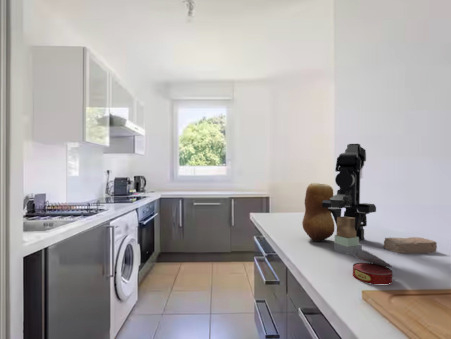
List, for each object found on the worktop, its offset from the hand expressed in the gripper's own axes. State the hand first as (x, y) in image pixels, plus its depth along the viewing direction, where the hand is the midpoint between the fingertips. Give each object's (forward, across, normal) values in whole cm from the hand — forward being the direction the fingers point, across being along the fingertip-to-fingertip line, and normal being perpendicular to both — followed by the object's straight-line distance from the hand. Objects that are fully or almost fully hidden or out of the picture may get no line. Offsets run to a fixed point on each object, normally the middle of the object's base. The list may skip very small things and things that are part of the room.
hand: (347, 228), depth 106 cm
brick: (+9, +12, +24) cm, 28 cm away
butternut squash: (+9, -17, +6) cm, 20 cm away
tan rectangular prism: (+3, 0, 0) cm, 3 cm away
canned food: (+9, +19, -20) cm, 29 cm away
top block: (+6, 0, 0) cm, 6 cm away
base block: (+9, 0, +1) cm, 9 cm away
